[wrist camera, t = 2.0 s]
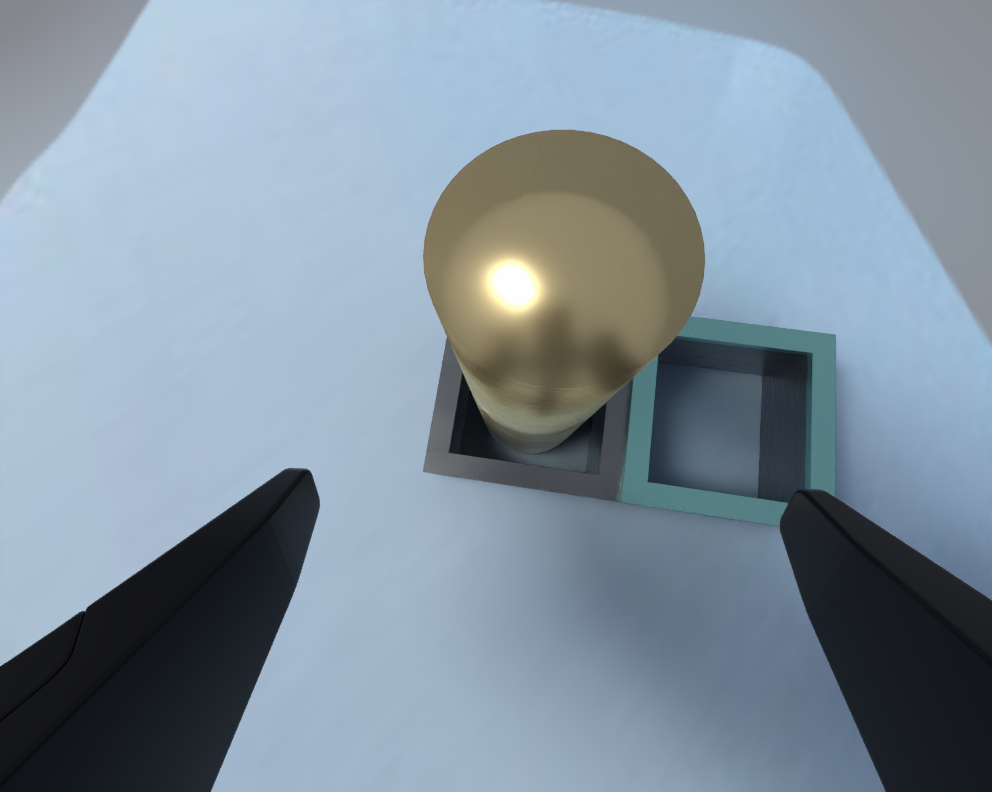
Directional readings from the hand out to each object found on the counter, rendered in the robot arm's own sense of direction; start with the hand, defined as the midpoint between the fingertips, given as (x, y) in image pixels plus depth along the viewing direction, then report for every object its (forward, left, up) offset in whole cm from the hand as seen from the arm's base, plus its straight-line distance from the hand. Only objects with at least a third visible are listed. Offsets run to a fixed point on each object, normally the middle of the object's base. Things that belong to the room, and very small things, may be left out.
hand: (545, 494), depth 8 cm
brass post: (+3, -1, -10) cm, 11 cm away
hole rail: (+2, -4, -10) cm, 12 cm away
